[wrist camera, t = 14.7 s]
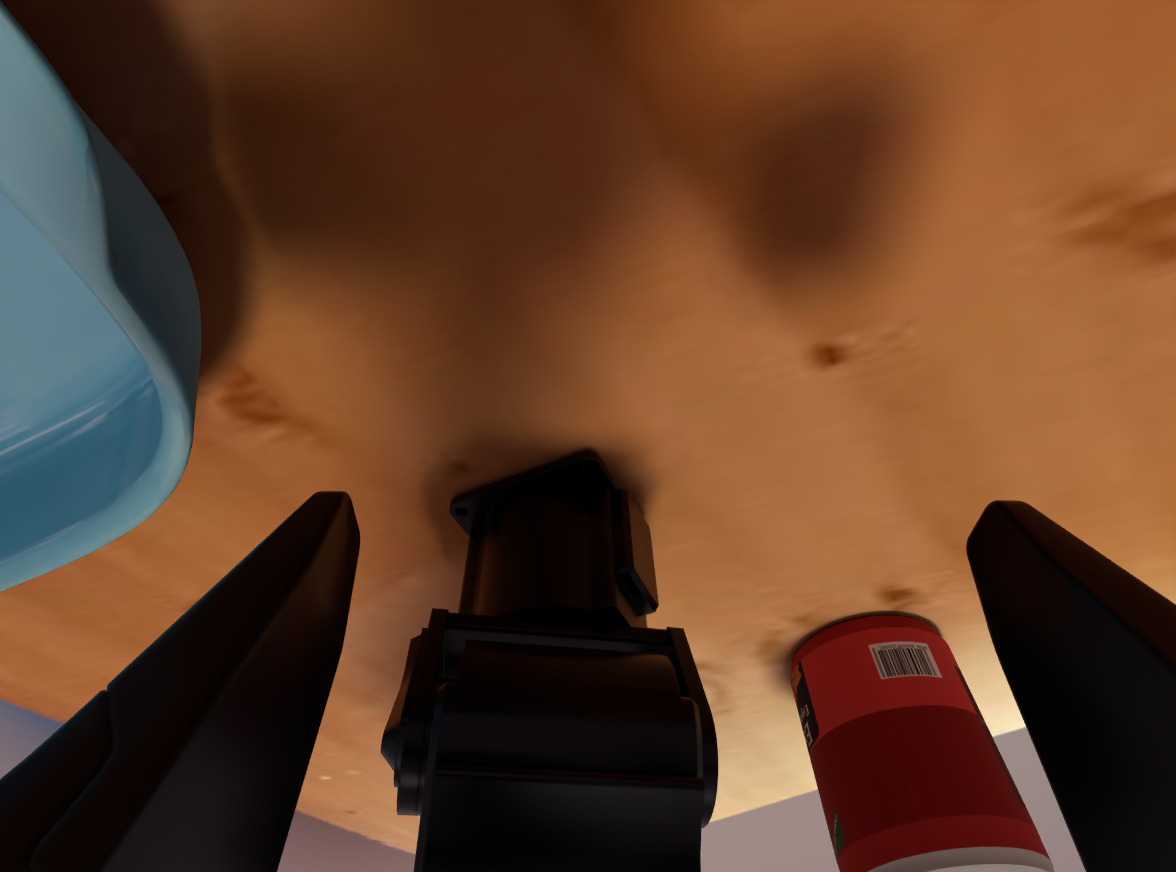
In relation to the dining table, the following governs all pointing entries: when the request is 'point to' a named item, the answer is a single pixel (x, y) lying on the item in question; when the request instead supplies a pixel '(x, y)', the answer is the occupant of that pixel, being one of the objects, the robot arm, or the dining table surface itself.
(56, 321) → the casserole dish
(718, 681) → the dining table surface
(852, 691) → the canned food
